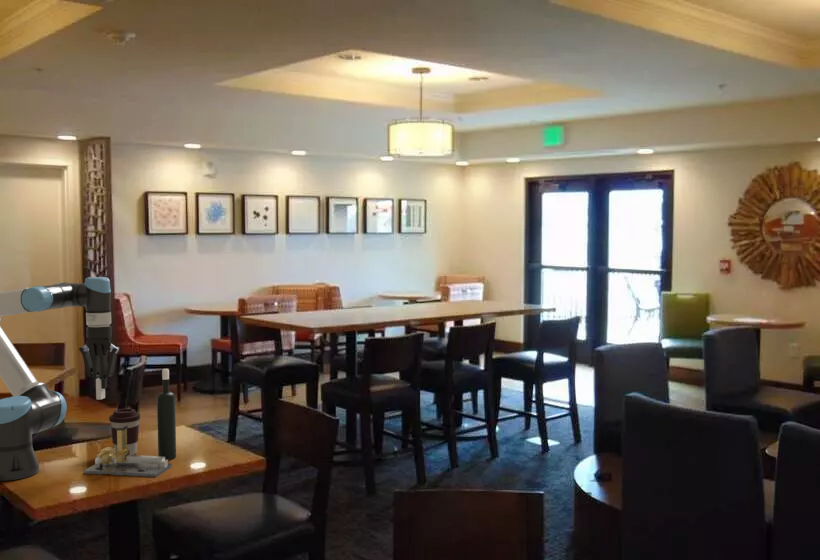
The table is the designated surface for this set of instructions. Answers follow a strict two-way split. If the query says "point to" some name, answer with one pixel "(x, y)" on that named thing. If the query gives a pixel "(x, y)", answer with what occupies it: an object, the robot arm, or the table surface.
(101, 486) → the table surface
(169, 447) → the wine bottle
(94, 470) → the trammel plate
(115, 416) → the coffee cup
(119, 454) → the sliding leg
